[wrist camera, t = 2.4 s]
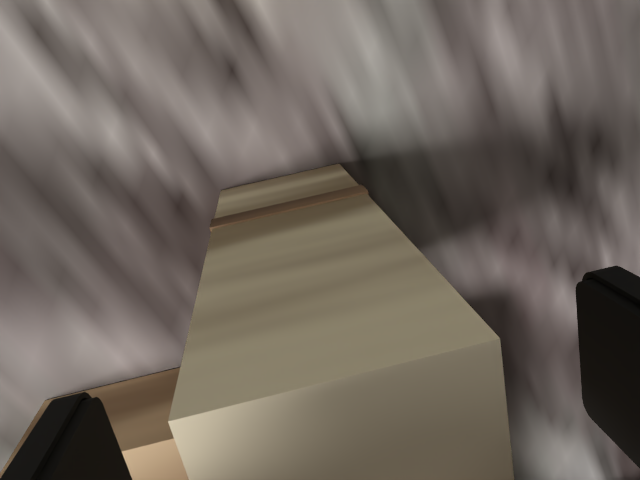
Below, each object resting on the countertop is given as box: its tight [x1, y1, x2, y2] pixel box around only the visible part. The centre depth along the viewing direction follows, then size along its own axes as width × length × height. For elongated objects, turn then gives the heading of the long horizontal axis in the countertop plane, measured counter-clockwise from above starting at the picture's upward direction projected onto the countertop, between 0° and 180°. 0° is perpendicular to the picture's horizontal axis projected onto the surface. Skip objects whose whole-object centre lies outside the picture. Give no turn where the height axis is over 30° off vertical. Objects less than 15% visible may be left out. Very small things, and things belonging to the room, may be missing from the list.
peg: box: [168, 164, 514, 480], centre depth 12 cm, size 4×4×12 cm
